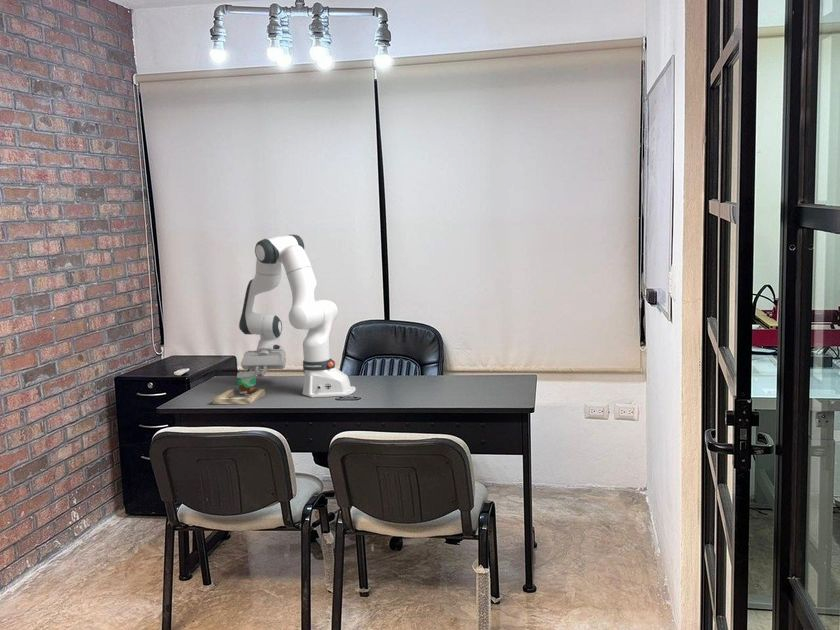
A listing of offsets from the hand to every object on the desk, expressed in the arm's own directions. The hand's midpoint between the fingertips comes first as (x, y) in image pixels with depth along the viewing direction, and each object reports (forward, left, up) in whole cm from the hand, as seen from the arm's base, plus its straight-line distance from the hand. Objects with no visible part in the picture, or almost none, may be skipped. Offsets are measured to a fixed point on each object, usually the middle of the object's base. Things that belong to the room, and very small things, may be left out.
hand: (260, 376), depth 363 cm
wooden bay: (0, +23, -5) cm, 24 cm away
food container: (0, +11, -5) cm, 12 cm away
